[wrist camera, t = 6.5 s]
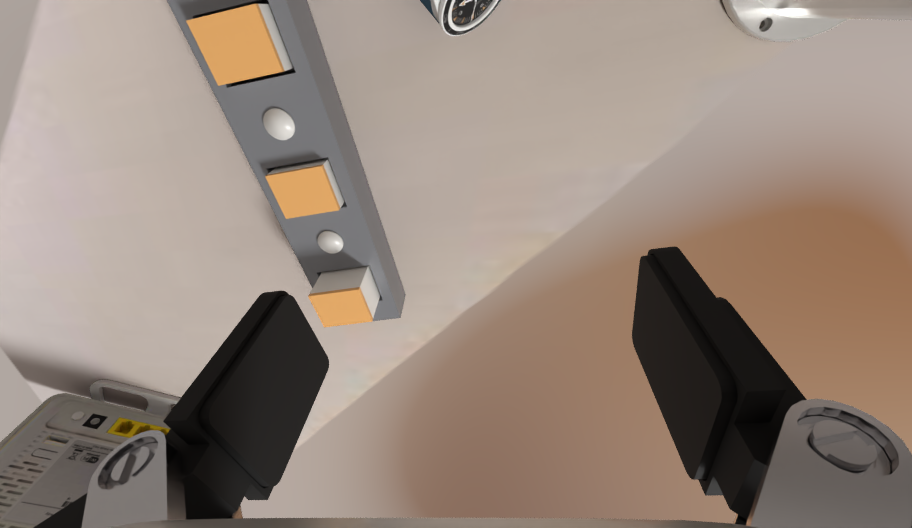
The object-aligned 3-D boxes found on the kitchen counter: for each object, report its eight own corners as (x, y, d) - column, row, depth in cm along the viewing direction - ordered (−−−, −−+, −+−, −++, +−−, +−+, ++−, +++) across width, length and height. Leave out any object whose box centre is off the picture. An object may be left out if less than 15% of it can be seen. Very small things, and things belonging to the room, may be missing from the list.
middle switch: (337, 149, 34) (321, 166, 30) (352, 189, 36) (339, 210, 33) (286, 158, 35) (264, 176, 31) (304, 197, 37) (285, 219, 33)
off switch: (369, 262, 38) (358, 289, 34) (381, 292, 40) (372, 321, 37) (323, 268, 39) (308, 296, 35) (337, 298, 41) (324, 327, 37)
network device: (73, 402, 58) (-83, 558, 42) (64, 368, 54) (-115, 528, 37) (242, 442, 63) (163, 594, 47) (247, 414, 59) (161, 572, 42)
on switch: (283, 4, 28) (255, 3, 24) (305, 64, 30) (282, 71, 26) (222, 19, 28) (185, 20, 25) (248, 76, 31) (218, 85, 27)
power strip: (290, -51, 27) (263, -60, 23) (405, 294, 44) (400, 319, 41) (189, -25, 28) (150, -30, 24) (341, 303, 45) (331, 327, 42)
